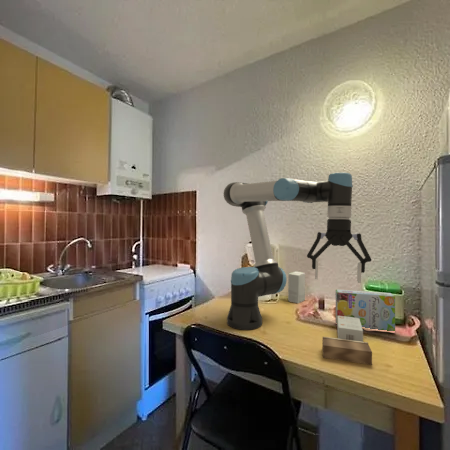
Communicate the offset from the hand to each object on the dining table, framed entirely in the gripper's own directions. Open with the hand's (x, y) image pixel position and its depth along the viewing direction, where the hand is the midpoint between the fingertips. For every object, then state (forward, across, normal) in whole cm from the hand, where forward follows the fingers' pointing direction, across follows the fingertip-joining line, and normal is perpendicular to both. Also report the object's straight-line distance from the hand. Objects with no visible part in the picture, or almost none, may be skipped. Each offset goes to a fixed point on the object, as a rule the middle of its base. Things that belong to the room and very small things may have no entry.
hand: (337, 280), depth 91 cm
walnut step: (+24, +3, -5) cm, 24 cm away
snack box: (+24, +13, +22) cm, 35 cm away
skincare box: (+25, -15, +52) cm, 59 cm away
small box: (+21, +5, +2) cm, 21 cm away
